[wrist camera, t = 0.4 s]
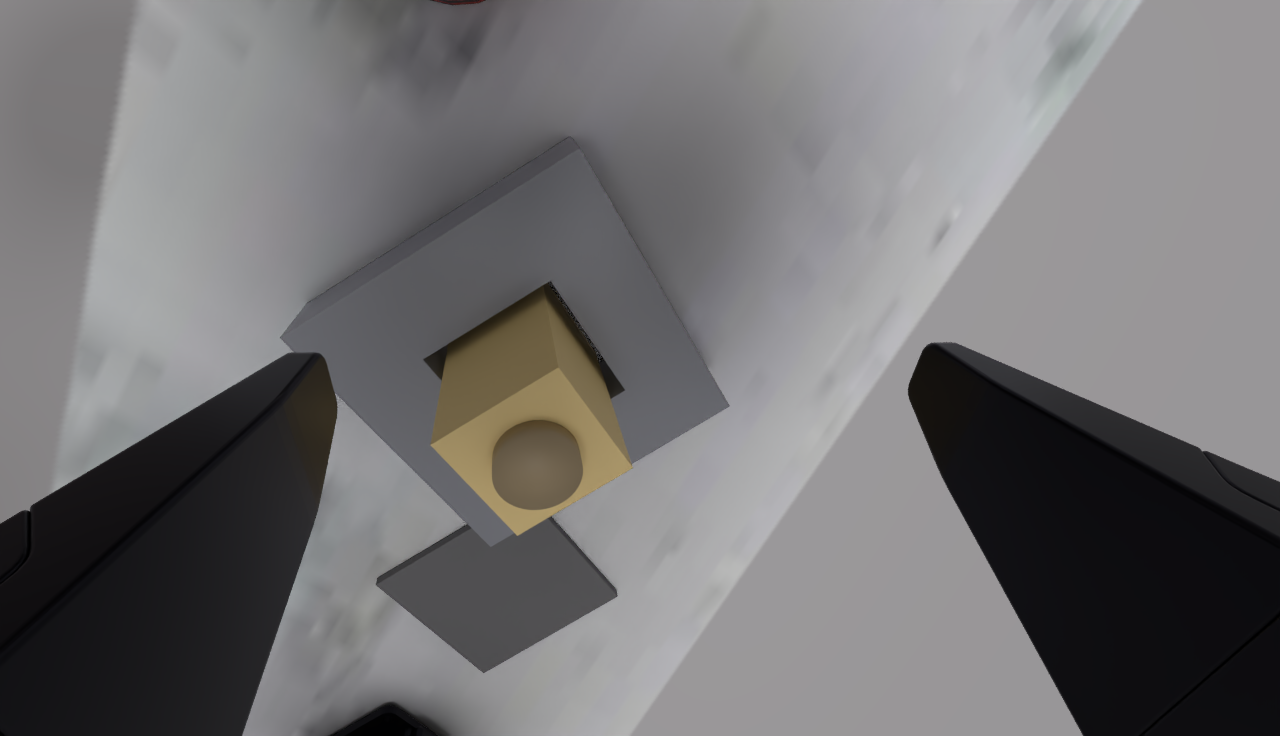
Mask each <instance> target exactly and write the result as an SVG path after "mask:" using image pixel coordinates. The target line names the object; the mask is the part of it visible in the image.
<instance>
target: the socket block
mask: <svg viewBox="0 0 1280 736" xmlns="http://www.w3.org/2000/svg"><path fill="white" fill-rule="evenodd" d="M549 281H551V282H552V284H553V285H554V287H555V288H556V290H557V291H558V293H559V294H560V296H561V297H562V298H563V300H564V301H565V303H566V304H567V306H568V307H569V309H570V310H571V312H572V313H573V315H574V316H575V317H576V319H577V320H578V322H579V323H580V325H581V326H582V328H583V329H584V331H585V332H586V334H587V335H588V336H589V338H590V339H591V341H592V342H593V344H594V345H595V347H596V348H597V350H598V351H599V353H600V354H601V355H602V357H603V358H604V361H602V362H600V363H599V365H600V368H601V371H602V374H603V377H604V380H605V383H606V387H607V390H608V393H609V396H610V399H611V402H612V405H613V408H614V411H615V414H616V417H617V421H618V424H619V427H620V430H621V433H622V436H623V439H624V442H625V445H626V448H627V451H628V455H629V458H630V461H631V464H632V463H634V462H636V461H638V460H639V459H641V458H643V457H644V456H646V455H648V454H649V453H651V452H653V451H655V450H656V449H658V448H660V447H661V446H663V445H665V444H666V443H668V442H670V441H671V440H673V439H675V438H677V437H678V436H680V435H682V434H683V433H685V432H687V431H688V430H690V429H692V428H694V427H695V426H697V425H699V424H700V423H702V422H704V421H705V420H707V419H709V418H710V417H712V416H714V415H716V414H717V413H719V412H721V411H722V410H724V409H726V408H727V407H729V404H728V402H727V401H726V399H725V397H724V395H723V394H722V392H721V390H720V389H719V387H718V385H717V383H716V382H715V380H714V378H713V376H712V375H711V373H710V371H709V370H708V368H707V366H706V364H705V363H704V361H703V359H702V357H701V356H700V354H699V352H698V351H697V349H696V347H695V345H694V344H693V342H692V340H691V338H690V337H689V335H688V333H687V332H686V330H685V328H684V326H683V325H682V323H681V321H680V319H679V318H678V316H677V314H676V313H675V311H674V309H673V307H672V306H671V304H670V302H669V300H668V299H667V297H666V295H665V294H664V292H663V290H662V288H661V287H660V285H659V283H658V281H657V280H656V278H655V276H654V275H653V273H652V271H651V269H650V268H649V266H648V264H647V262H646V261H645V259H644V257H643V256H642V254H641V252H640V250H639V249H638V247H637V245H636V243H635V242H634V240H633V238H632V237H631V235H630V233H629V231H628V230H627V228H626V226H625V224H624V223H623V221H622V219H621V218H620V216H619V214H618V212H617V211H616V209H615V207H614V205H613V204H612V202H611V200H610V199H609V197H608V195H607V193H606V192H605V190H604V188H603V186H602V185H601V183H600V181H599V180H598V178H597V176H596V174H595V173H594V171H593V169H592V167H591V166H590V164H589V162H588V161H587V159H586V157H585V155H584V154H583V152H582V150H581V148H580V147H579V146H578V145H577V144H576V143H575V141H574V140H573V139H572V138H571V137H568V138H567V139H565V140H563V141H562V142H560V143H559V144H557V145H556V146H554V147H552V148H551V149H549V150H548V151H546V152H544V153H543V154H541V155H540V156H538V157H537V158H535V159H533V160H532V161H530V162H529V163H527V164H526V165H524V166H522V167H521V168H519V169H518V170H516V171H515V172H513V173H511V174H510V175H508V176H507V177H505V178H504V179H502V180H500V181H499V182H497V183H496V184H494V185H493V186H491V187H489V188H488V189H486V190H485V191H483V192H482V193H480V194H478V195H477V196H475V197H474V198H472V199H471V200H469V201H467V202H466V203H464V204H463V205H461V206H460V207H458V208H456V209H455V210H453V211H452V212H450V213H449V214H447V215H445V216H444V217H442V218H441V219H439V220H438V221H436V222H434V223H433V224H431V225H430V226H428V227H427V228H425V229H423V230H422V231H420V232H419V233H417V234H416V235H414V236H412V237H411V238H409V239H408V240H406V241H405V242H403V243H401V244H400V245H398V246H397V247H395V248H393V249H392V250H390V251H389V252H387V253H386V254H384V255H382V256H381V257H379V258H378V259H376V260H375V261H373V262H371V263H370V264H368V265H367V266H365V267H364V268H362V269H360V270H359V271H357V272H356V273H354V274H353V275H351V276H349V277H348V278H346V279H345V280H343V281H342V282H340V283H338V284H337V285H335V286H334V287H332V288H331V289H329V290H327V291H326V292H324V293H323V294H321V295H320V296H318V297H316V298H315V299H313V300H312V301H310V302H309V303H307V304H306V305H305V306H304V308H303V309H302V310H301V312H300V313H299V314H298V315H297V317H296V318H295V319H294V321H293V322H292V323H291V324H290V326H289V327H288V328H287V330H286V331H285V332H284V333H283V335H282V336H281V337H280V338H281V339H282V340H283V341H284V342H285V343H286V344H287V345H288V346H289V347H290V348H291V349H292V350H293V351H294V352H295V353H296V352H318V353H320V354H321V355H323V357H324V358H325V360H326V363H327V366H328V370H329V374H330V377H331V381H332V385H333V389H334V392H335V393H336V394H337V395H338V396H339V397H340V398H341V399H342V400H343V401H344V402H345V403H346V404H347V405H348V406H349V407H350V408H351V409H352V410H353V411H354V412H355V413H356V414H357V415H358V416H359V417H360V418H361V419H362V420H363V421H364V422H365V423H366V424H367V425H368V426H369V427H370V428H371V429H372V430H373V431H374V432H375V433H376V434H377V435H378V436H379V437H380V438H381V439H382V440H383V441H384V442H385V443H386V444H387V445H388V446H389V447H390V448H391V449H392V450H393V451H394V452H395V453H396V454H397V455H398V456H399V457H400V458H401V459H402V460H404V461H405V462H406V463H407V464H408V465H409V466H410V467H411V468H412V469H413V470H414V471H415V472H416V473H417V474H418V475H419V476H420V477H421V478H422V479H423V480H424V481H425V482H426V483H427V484H428V485H429V486H430V487H431V488H432V489H433V490H434V491H435V492H436V493H437V494H438V495H439V496H440V497H441V498H442V499H443V500H444V501H445V502H446V503H447V504H448V505H449V506H450V507H451V508H452V509H453V510H454V511H455V512H456V513H457V514H458V515H459V516H460V517H461V518H462V519H463V520H464V521H465V522H466V523H467V524H468V525H469V526H470V527H471V528H472V529H473V530H474V531H475V532H476V533H477V534H478V535H479V536H480V537H481V538H482V539H483V540H484V541H485V542H486V543H487V544H488V545H489V546H490V547H492V546H493V545H495V544H497V543H498V542H500V541H502V540H504V539H505V538H507V537H509V536H510V535H512V534H514V532H513V531H512V530H511V529H510V528H509V527H508V526H507V525H506V524H505V523H504V522H503V520H502V519H501V518H500V517H499V516H498V515H497V514H496V513H495V512H494V511H493V510H492V509H491V508H490V507H489V506H488V505H487V504H486V503H485V502H484V501H483V500H482V499H481V497H480V496H479V495H478V494H477V493H476V492H475V491H474V490H473V489H472V488H471V487H470V486H469V485H468V484H467V483H466V482H465V481H464V480H463V479H462V478H461V477H460V476H459V475H458V473H457V472H456V471H455V470H454V469H453V468H452V467H451V466H450V465H449V464H448V463H447V462H446V461H445V460H444V459H443V458H442V457H441V456H440V455H439V454H438V453H437V452H436V450H435V449H434V448H433V447H432V446H431V445H430V444H431V439H432V433H433V427H434V422H435V416H436V411H437V405H438V399H439V394H440V388H441V382H442V377H443V371H444V365H445V360H446V354H447V349H448V344H449V343H450V342H452V341H454V340H455V339H457V338H459V337H460V336H462V335H463V334H465V333H467V332H468V331H470V330H471V329H473V328H475V327H476V326H478V325H480V324H481V323H483V322H484V321H486V320H488V319H489V318H491V317H492V316H494V315H496V314H497V313H499V312H501V311H502V310H504V309H505V308H507V307H509V306H510V305H512V304H513V303H515V302H517V301H518V300H520V299H522V298H523V297H525V296H526V295H528V294H530V293H531V292H533V291H534V290H536V289H538V288H539V287H541V286H543V285H544V284H546V283H547V282H549Z"/></svg>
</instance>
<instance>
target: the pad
mask: <svg viewBox="0 0 1280 736" xmlns="http://www.w3.org/2000/svg"><path fill="white" fill-rule="evenodd" d="M376 585H377V586H378V587H379V588H380V589H381V590H383V591H384V592H385V593H386V594H388V595H389V596H390V597H391V598H392V599H394V600H395V601H396V602H397V603H399V604H400V605H401V606H402V607H403V608H405V609H406V610H407V611H408V612H410V613H411V614H412V615H413V616H414V617H416V618H417V619H418V620H419V621H421V622H422V623H423V624H424V625H425V626H427V627H428V628H429V629H430V630H432V631H433V632H434V633H435V634H436V635H438V636H439V637H440V638H441V639H443V640H444V641H445V642H446V643H447V644H449V645H450V646H451V647H452V648H454V649H455V650H456V651H457V652H458V653H460V654H461V655H462V656H463V657H465V658H466V659H467V660H468V661H469V662H471V663H472V664H473V665H474V666H476V667H477V668H478V669H479V670H480V671H482V672H483V673H485V672H487V671H488V670H490V669H492V668H494V667H495V666H497V665H499V664H500V663H502V662H504V661H506V660H507V659H509V658H511V657H513V656H514V655H516V654H518V653H520V652H521V651H523V650H525V649H527V648H528V647H530V646H532V645H534V644H535V643H537V642H539V641H541V640H542V639H544V638H546V637H548V636H549V635H551V634H553V633H555V632H556V631H558V630H560V629H561V628H563V627H565V626H567V625H568V624H570V623H572V622H574V621H575V620H577V619H579V618H581V617H582V616H584V615H586V614H588V613H589V612H591V611H593V610H595V609H596V608H598V607H600V606H602V605H603V604H605V603H607V602H609V601H610V600H612V599H614V598H616V597H617V591H616V589H615V588H614V587H613V586H612V585H611V584H610V583H609V581H608V580H607V579H606V578H605V577H604V576H603V575H602V574H601V572H600V571H599V570H598V569H597V568H596V567H595V566H594V565H593V563H592V562H591V561H590V560H589V559H588V558H587V557H586V556H585V554H584V553H583V552H582V551H581V550H580V549H579V548H578V547H577V545H576V544H575V543H574V542H573V541H572V540H571V539H570V538H569V537H568V535H567V534H566V533H565V532H564V531H563V530H562V529H561V528H560V526H559V525H558V524H557V523H556V522H555V521H554V520H553V519H552V517H551V516H550V517H549V518H547V519H545V520H544V521H542V522H540V523H538V524H537V525H535V526H533V527H532V528H530V529H528V530H527V531H525V532H523V533H522V534H520V535H518V536H517V535H516V534H515V533H514V534H512V535H510V536H509V537H507V538H505V539H504V540H502V541H500V542H498V543H497V544H495V545H493V546H492V547H490V546H489V545H488V544H487V543H486V542H485V541H484V540H483V539H482V538H481V537H480V536H479V535H478V534H477V533H476V532H475V531H474V530H473V529H472V528H471V527H470V526H469V525H466V526H464V527H463V528H461V529H459V530H458V531H456V532H454V533H453V534H451V535H449V536H448V537H446V538H444V539H443V540H441V541H439V542H438V543H436V544H434V545H433V546H431V547H429V548H427V549H426V550H424V551H422V552H421V553H419V554H417V555H416V556H414V557H412V558H411V559H409V560H407V561H406V562H404V563H402V564H401V565H399V566H397V567H395V568H394V569H392V570H390V571H389V572H387V573H385V574H384V575H382V576H380V577H379V578H377V582H376Z"/></svg>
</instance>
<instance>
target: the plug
mask: <svg viewBox="0 0 1280 736" xmlns="http://www.w3.org/2000/svg"><path fill="white" fill-rule="evenodd" d="M430 445H431V446H432V447H433V448H434V449H435V450H436V452H437V453H438V454H439V455H440V456H441V457H442V458H443V459H444V460H445V461H446V462H447V463H448V464H449V465H450V466H451V467H452V468H453V469H454V470H455V471H456V472H457V473H458V475H459V476H460V477H461V478H462V479H463V480H464V481H465V482H466V483H467V484H468V485H469V486H470V487H471V488H472V489H473V490H474V491H475V492H476V493H477V494H478V495H479V496H480V497H481V499H482V500H483V501H484V502H485V503H486V504H487V505H488V506H489V507H490V508H491V509H492V510H493V511H494V512H495V513H496V514H497V515H498V516H499V517H500V518H501V519H502V520H503V522H504V523H505V524H506V525H507V526H508V527H509V528H510V529H511V530H512V531H513V532H514V533H515V534H516V535H517V536H518V535H520V534H522V533H523V532H525V531H527V530H528V529H530V528H532V527H533V526H535V525H537V524H538V523H540V522H542V521H544V520H545V519H547V518H549V517H550V516H552V515H554V514H555V513H557V512H559V511H561V510H562V509H564V508H566V507H567V506H569V505H571V504H572V503H574V502H576V501H578V500H579V499H581V498H583V497H584V496H586V495H588V494H589V493H591V492H593V491H595V490H596V489H598V488H600V487H601V486H603V485H605V484H606V483H608V482H610V481H612V480H613V479H615V478H617V477H618V476H620V475H622V474H623V473H625V472H627V471H629V470H630V469H632V468H633V467H632V464H631V461H630V458H629V455H628V451H627V448H626V445H625V442H624V439H623V436H622V433H621V430H620V427H619V424H618V421H617V417H616V414H615V411H614V408H613V405H612V402H611V399H610V396H609V393H608V390H607V387H606V383H605V380H604V377H603V374H602V371H601V368H600V365H599V362H598V359H597V356H596V352H595V351H594V349H593V348H592V346H591V345H590V344H589V342H588V341H587V339H586V338H585V336H584V335H583V333H582V332H581V330H580V329H579V328H578V326H577V325H576V323H575V322H574V320H573V319H572V317H571V316H570V314H569V313H568V312H567V310H566V309H565V307H564V306H563V304H562V303H561V301H560V300H559V298H558V297H557V296H556V294H555V293H554V291H553V290H552V288H551V287H550V285H549V284H548V282H547V283H546V284H544V285H543V286H541V287H539V288H538V289H536V290H534V291H533V292H531V293H530V294H528V295H526V296H525V297H523V298H522V299H520V300H518V301H517V302H515V303H513V304H512V305H510V306H509V307H507V308H505V309H504V310H502V311H501V312H499V313H497V314H496V315H494V316H492V317H491V318H489V319H488V320H486V321H484V322H483V323H481V324H480V325H478V326H476V327H475V328H473V329H471V330H470V331H468V332H467V333H465V334H463V335H462V336H460V337H459V338H457V339H455V340H454V341H452V342H450V343H449V344H448V349H447V354H446V360H445V365H444V371H443V377H442V382H441V388H440V394H439V399H438V405H437V411H436V416H435V422H434V427H433V433H432V439H431V444H430Z"/></svg>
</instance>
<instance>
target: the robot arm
mask: <svg viewBox="0 0 1280 736" xmlns="http://www.w3.org/2000/svg"><path fill="white" fill-rule="evenodd" d="M908 395H909V400H910V402H911V405H912V407H913V409H914V412H915V414H916V417H917V419H918V422H919V424H920V426H921V429H922V431H923V434H924V436H925V438H926V441H927V443H928V445H929V448H930V450H931V453H932V455H933V458H934V460H935V462H936V464H937V467H938V469H939V471H940V474H941V476H942V478H943V480H944V482H945V484H946V485H947V488H948V490H949V492H950V493H951V495H952V497H953V499H954V501H955V503H956V504H957V506H958V508H959V510H960V512H961V513H962V515H963V517H964V519H965V521H966V522H967V524H968V526H969V528H970V530H971V532H972V533H973V535H974V537H975V539H976V541H977V543H978V545H979V546H980V548H981V550H982V552H983V553H984V555H985V557H986V559H987V561H988V563H989V564H990V566H991V568H992V570H993V572H994V573H995V576H996V577H997V579H998V581H999V583H1000V584H1001V586H1002V588H1003V590H1004V592H1005V594H1006V596H1007V598H1008V599H1009V601H1010V603H1011V605H1012V607H1013V609H1014V610H1015V612H1016V614H1017V616H1018V618H1019V619H1020V621H1021V623H1022V625H1023V627H1024V629H1025V630H1026V632H1027V634H1028V636H1029V638H1030V639H1031V641H1032V643H1033V645H1034V647H1035V649H1036V651H1037V652H1038V654H1039V656H1040V658H1041V659H1042V661H1043V663H1044V665H1045V667H1046V669H1047V671H1048V672H1049V674H1050V676H1051V678H1052V680H1053V682H1054V683H1055V685H1056V687H1057V689H1058V691H1059V693H1060V694H1061V696H1062V698H1063V700H1064V702H1065V703H1066V705H1067V707H1068V709H1069V711H1070V712H1071V714H1072V716H1073V718H1074V720H1075V722H1076V724H1077V725H1078V727H1079V729H1080V731H1081V733H1082V735H1083V736H1280V482H1279V481H1276V480H1274V479H1272V478H1269V477H1267V476H1264V475H1262V474H1259V473H1257V472H1255V471H1252V470H1250V469H1247V468H1245V467H1243V466H1240V465H1238V464H1236V463H1233V462H1231V461H1229V460H1226V459H1224V458H1222V457H1220V456H1217V455H1215V454H1212V453H1210V452H1208V451H1203V452H1202V451H1201V449H1200V448H1198V447H1196V446H1194V445H1191V444H1189V443H1187V442H1184V441H1182V440H1180V439H1177V438H1175V437H1173V436H1170V435H1168V434H1166V433H1164V432H1161V431H1159V430H1156V429H1154V428H1152V427H1150V426H1147V425H1145V424H1143V423H1140V422H1138V421H1136V420H1133V419H1131V418H1129V417H1126V416H1124V415H1122V414H1119V413H1117V412H1115V411H1112V410H1110V409H1108V408H1106V407H1103V406H1101V405H1098V404H1096V403H1094V402H1092V401H1089V400H1087V399H1085V398H1082V397H1080V396H1078V395H1075V394H1073V393H1071V392H1068V391H1066V390H1064V389H1061V388H1059V387H1057V386H1054V385H1052V384H1050V383H1047V382H1045V381H1043V380H1040V379H1038V378H1036V377H1034V376H1031V375H1029V374H1026V373H1024V372H1022V371H1020V370H1017V369H1015V368H1013V367H1010V366H1008V365H1006V364H1003V363H1001V362H999V361H996V360H994V359H992V358H989V357H987V356H985V355H982V354H980V353H978V352H976V351H973V350H971V349H968V348H966V347H964V346H962V345H959V344H957V343H952V342H943V343H930V344H928V345H927V346H926V347H925V348H924V349H923V351H922V353H921V356H920V358H919V360H918V363H917V365H916V368H915V370H914V373H913V375H912V378H911V380H910V383H909V387H908ZM336 419H337V401H336V396H335V393H334V389H333V385H332V381H331V377H330V374H329V370H328V366H327V363H326V360H325V358H324V357H323V355H321V354H320V353H318V352H296V353H288V354H286V355H284V356H282V357H280V358H279V359H277V360H275V361H274V362H272V363H270V364H269V365H267V366H265V367H264V368H262V369H260V370H259V371H257V372H255V373H254V374H252V375H250V376H249V377H247V378H245V379H243V380H242V381H240V382H238V383H237V384H235V385H233V386H232V387H230V388H228V389H227V390H225V391H223V392H222V393H220V394H218V395H217V396H215V397H213V398H211V399H210V400H208V401H206V402H205V403H203V404H201V405H200V406H198V407H196V408H195V409H193V410H191V411H190V412H188V413H186V414H185V415H183V416H181V417H179V418H178V419H176V420H174V421H173V422H171V423H169V424H168V425H166V426H164V427H163V428H161V429H159V430H158V431H156V432H154V433H152V434H151V435H149V436H147V437H146V438H144V439H142V440H141V441H139V442H137V443H136V444H134V445H132V446H131V447H129V448H127V449H126V450H124V451H122V452H120V453H119V454H117V455H115V456H114V457H112V458H110V459H109V460H107V461H105V462H104V463H102V464H100V465H99V466H97V467H95V468H94V469H92V470H90V471H88V472H87V473H85V474H83V475H82V476H80V477H78V478H77V479H75V480H73V481H72V482H70V483H68V484H67V485H65V486H63V487H62V488H60V489H58V490H56V491H55V492H53V493H51V494H50V495H48V496H46V497H45V498H43V499H41V500H40V501H38V502H36V503H35V504H33V505H32V506H31V507H30V511H27V510H24V511H21V512H19V513H17V514H16V515H14V516H12V517H11V518H9V519H7V520H6V521H4V522H2V523H1V524H0V736H242V734H243V731H244V728H245V725H246V723H247V720H248V717H249V714H250V711H251V708H252V705H253V702H254V699H255V696H256V693H257V690H258V687H259V684H260V681H261V678H262V675H263V672H264V669H265V666H266V664H267V661H268V658H269V655H270V652H271V649H272V646H273V643H274V640H275V637H276V634H277V631H278V628H279V625H280V622H281V619H282V616H283V613H284V610H285V607H286V605H287V602H288V599H289V596H290V593H291V590H292V587H293V584H294V581H295V578H296V575H297V572H298V569H299V566H300V563H301V560H302V557H303V554H304V551H305V548H306V546H307V543H308V540H309V537H310V534H311V531H312V528H313V525H314V521H315V518H316V515H317V512H318V508H319V503H320V499H321V494H322V489H323V484H324V479H325V474H326V469H327V464H328V459H329V454H330V449H331V444H332V439H333V434H334V429H335V424H336ZM333 736H438V735H436V734H435V733H434V732H432V731H431V730H429V729H428V728H426V727H425V726H424V725H422V724H421V723H419V722H418V721H416V720H415V719H413V718H412V717H411V716H409V715H408V714H406V713H405V712H403V711H402V710H400V709H399V708H398V707H396V706H392V705H389V706H384V707H382V708H380V709H378V710H377V711H375V712H373V713H372V714H370V715H368V716H366V717H365V718H363V719H361V720H359V721H358V722H356V723H354V724H352V725H351V726H349V727H347V728H346V729H344V730H342V731H340V732H339V733H337V734H335V735H333Z"/></svg>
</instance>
